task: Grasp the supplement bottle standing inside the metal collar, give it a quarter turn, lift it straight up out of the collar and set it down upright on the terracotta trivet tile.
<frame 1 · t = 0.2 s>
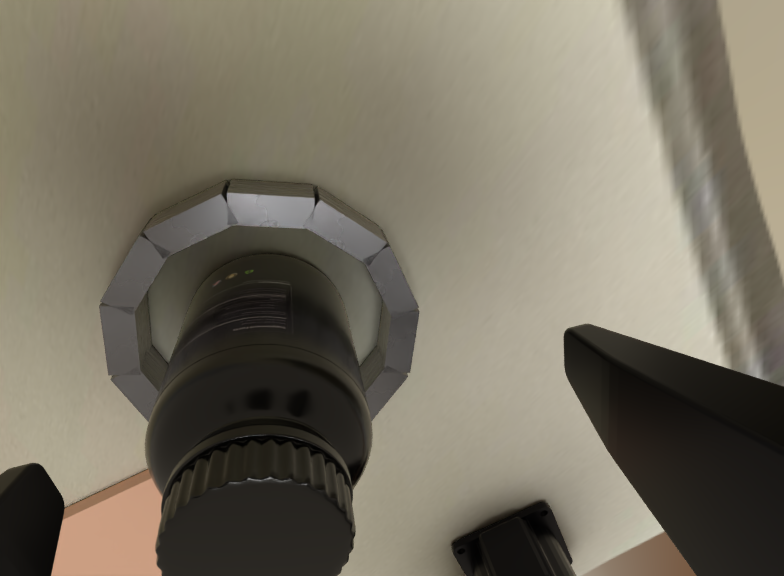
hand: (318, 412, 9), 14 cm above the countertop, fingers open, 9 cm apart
collar: (269, 318, 23), on the countertop
supplement bottle: (270, 316, 24), resting in collar
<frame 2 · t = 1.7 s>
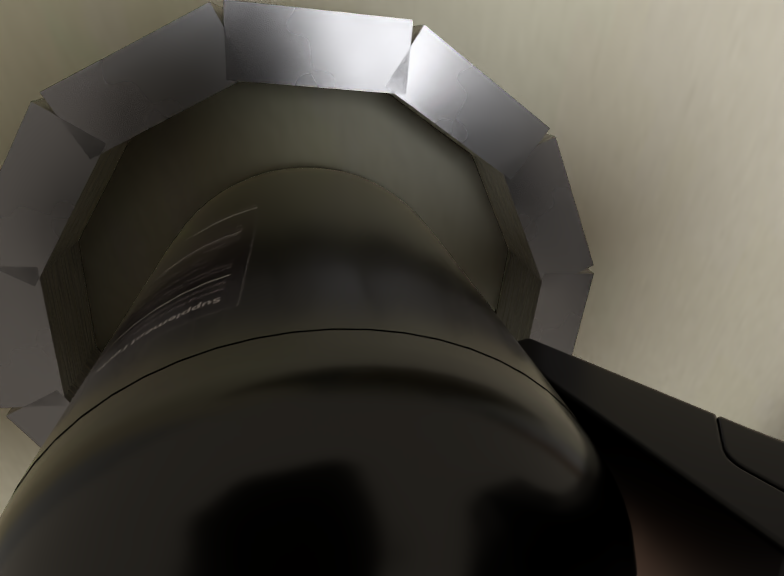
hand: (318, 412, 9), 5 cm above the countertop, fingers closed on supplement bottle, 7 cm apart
collar: (309, 296, 13), on the countertop
supplement bottle: (308, 292, 13), resting in collar, touching gripper
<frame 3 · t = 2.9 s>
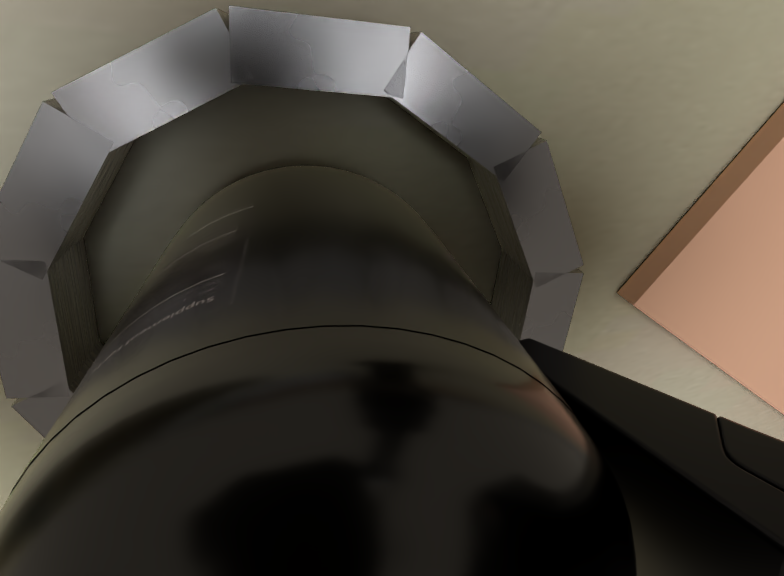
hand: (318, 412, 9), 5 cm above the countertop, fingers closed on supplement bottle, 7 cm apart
collar: (307, 293, 13), on the countertop
supplement bottle: (308, 291, 13), resting in collar, touching gripper
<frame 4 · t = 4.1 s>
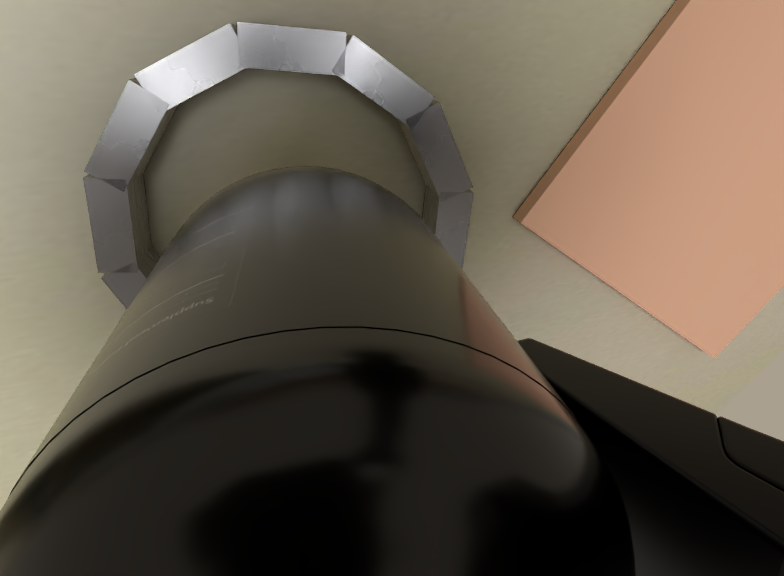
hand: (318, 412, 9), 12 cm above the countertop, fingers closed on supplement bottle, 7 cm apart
trivet tile: (722, 167, 22), on the countertop
collar: (291, 214, 19), on the countertop
supplement bottle: (308, 291, 13), point 7 cm above the countertop, touching gripper
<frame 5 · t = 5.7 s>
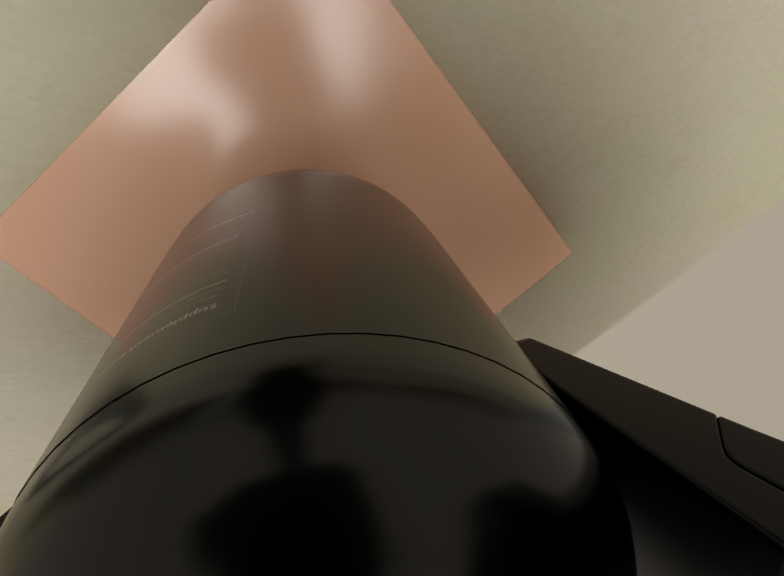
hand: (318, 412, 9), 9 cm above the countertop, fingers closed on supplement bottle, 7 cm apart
trivet tile: (305, 239, 17), on the countertop
supplement bottle: (308, 294, 13), point 5 cm above the countertop, touching gripper
when the fingers open (7 cm above the countertop, at t = 6.6 s): supplement bottle drops 1 cm, resting on trivet tile.
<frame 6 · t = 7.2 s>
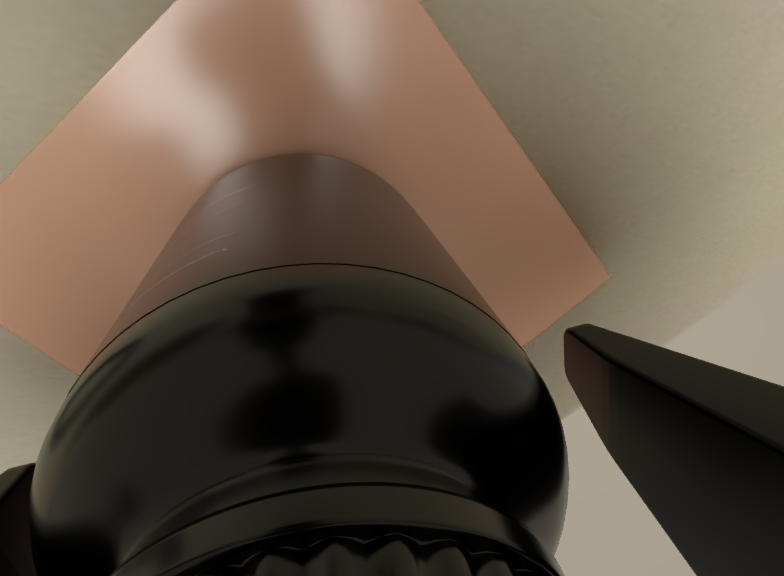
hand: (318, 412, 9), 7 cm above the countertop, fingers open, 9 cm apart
trivet tile: (306, 263, 15), on the countertop
supplement bottle: (305, 269, 14), point 1 cm above the countertop, touching trivet tile
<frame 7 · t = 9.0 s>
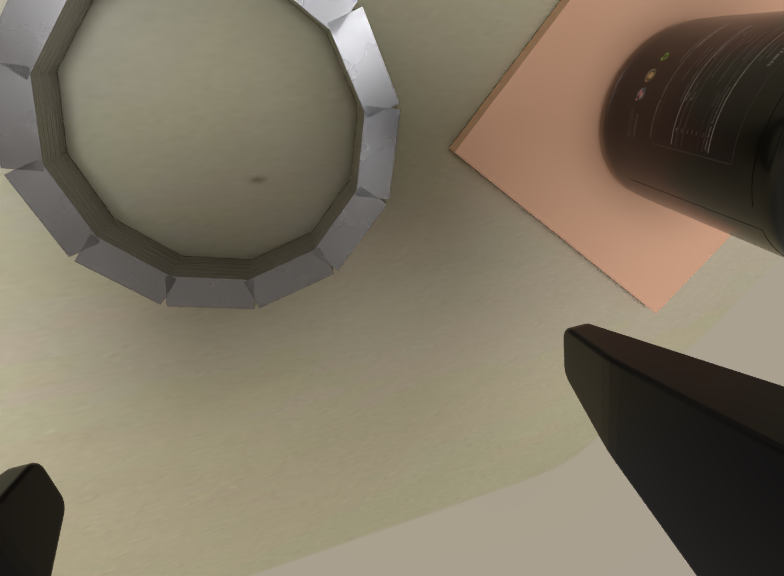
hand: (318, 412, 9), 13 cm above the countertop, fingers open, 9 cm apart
trivet tile: (664, 111, 22), on the countertop
collar: (216, 128, 19), on the countertop
supplement bottle: (672, 111, 21), point 1 cm above the countertop, touching trivet tile
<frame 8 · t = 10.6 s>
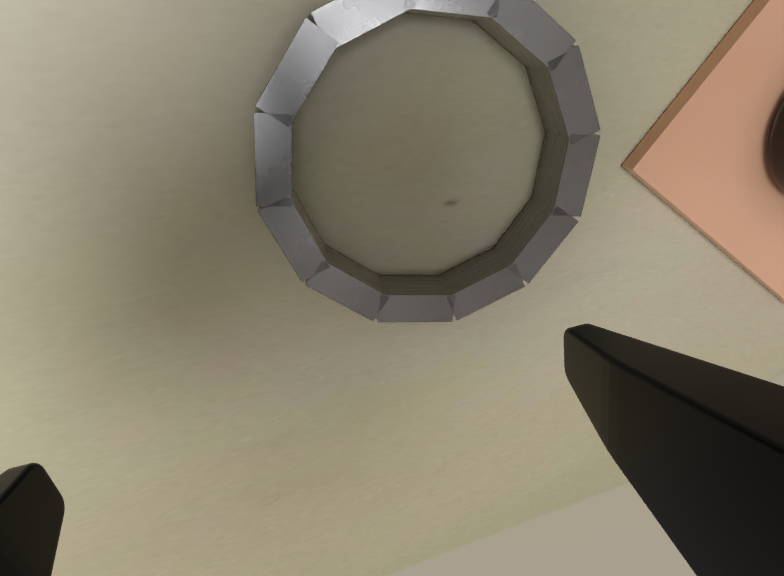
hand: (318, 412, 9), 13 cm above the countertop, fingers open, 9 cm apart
collar: (420, 158, 21), on the countertop
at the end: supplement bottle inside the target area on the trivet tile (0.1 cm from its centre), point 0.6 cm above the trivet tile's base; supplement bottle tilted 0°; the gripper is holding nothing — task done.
